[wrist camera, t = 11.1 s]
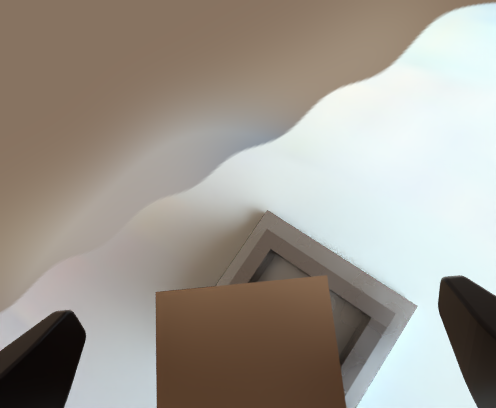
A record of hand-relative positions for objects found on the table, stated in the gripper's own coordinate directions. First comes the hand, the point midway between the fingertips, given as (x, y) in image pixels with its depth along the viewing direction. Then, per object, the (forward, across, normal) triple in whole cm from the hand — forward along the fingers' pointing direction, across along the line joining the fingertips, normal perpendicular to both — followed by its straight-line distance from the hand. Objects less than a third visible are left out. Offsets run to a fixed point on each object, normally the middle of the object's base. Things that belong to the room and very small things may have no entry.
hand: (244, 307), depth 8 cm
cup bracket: (+8, 0, +11) cm, 14 cm away
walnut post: (+8, 0, +10) cm, 12 cm away
